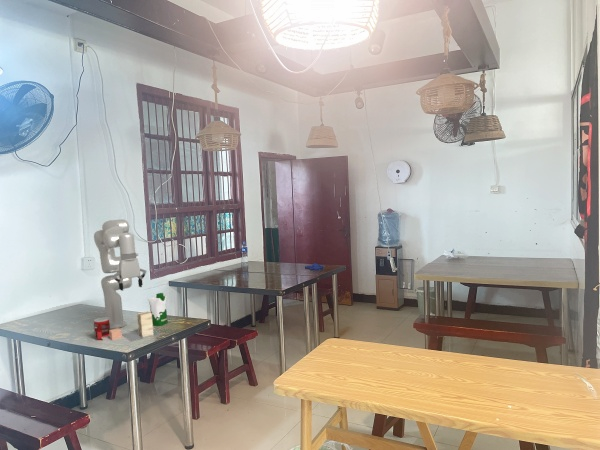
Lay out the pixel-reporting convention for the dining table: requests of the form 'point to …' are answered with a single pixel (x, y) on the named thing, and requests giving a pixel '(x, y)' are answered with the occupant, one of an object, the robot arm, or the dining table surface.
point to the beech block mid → (144, 318)
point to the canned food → (101, 327)
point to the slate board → (137, 335)
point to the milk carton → (158, 309)
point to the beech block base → (145, 330)
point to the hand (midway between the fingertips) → (131, 288)
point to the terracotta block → (115, 334)
